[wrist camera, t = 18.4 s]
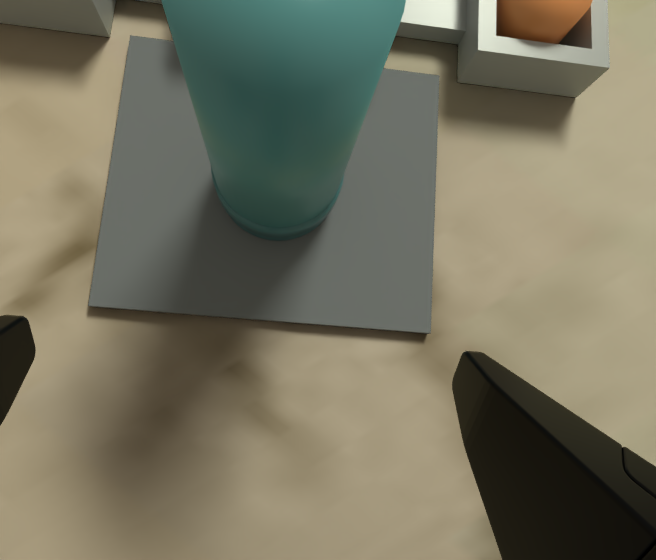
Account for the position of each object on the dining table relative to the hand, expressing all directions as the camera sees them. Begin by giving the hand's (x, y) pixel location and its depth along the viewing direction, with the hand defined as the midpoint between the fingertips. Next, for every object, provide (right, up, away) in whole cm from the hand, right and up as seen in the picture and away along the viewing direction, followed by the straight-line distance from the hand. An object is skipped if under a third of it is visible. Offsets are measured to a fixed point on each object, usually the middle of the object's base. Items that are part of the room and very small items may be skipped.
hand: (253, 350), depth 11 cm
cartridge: (-1, +6, +11) cm, 13 cm away
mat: (-1, +6, +12) cm, 13 cm away
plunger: (+11, +14, +14) cm, 22 cm away
